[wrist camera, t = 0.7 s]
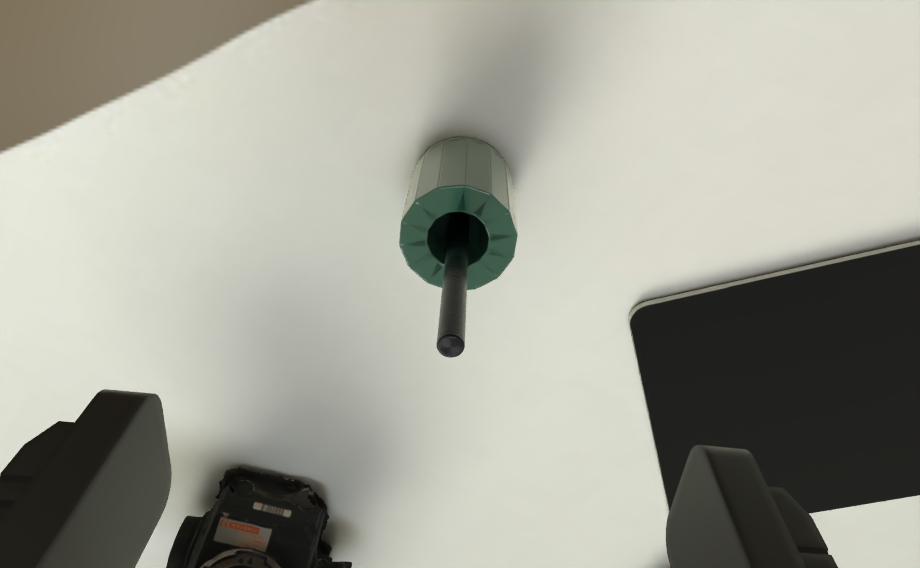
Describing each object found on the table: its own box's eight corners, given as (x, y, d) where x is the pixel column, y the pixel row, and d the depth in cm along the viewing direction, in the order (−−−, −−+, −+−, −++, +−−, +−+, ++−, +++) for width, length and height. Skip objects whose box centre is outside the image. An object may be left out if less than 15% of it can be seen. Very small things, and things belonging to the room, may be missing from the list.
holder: (405, 141, 38) (390, 191, 32) (508, 131, 37) (513, 180, 31) (418, 232, 40) (407, 294, 34) (515, 224, 40) (521, 285, 34)
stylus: (451, 180, 38) (434, 336, 25) (469, 178, 38) (462, 334, 25) (453, 197, 39) (438, 359, 26) (471, 195, 38) (465, 357, 25)
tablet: (1138, 196, 37) (1087, 467, 46) (1128, 190, 38) (1080, 459, 47) (626, 310, 42) (674, 535, 51) (624, 304, 42) (672, 528, 52)
